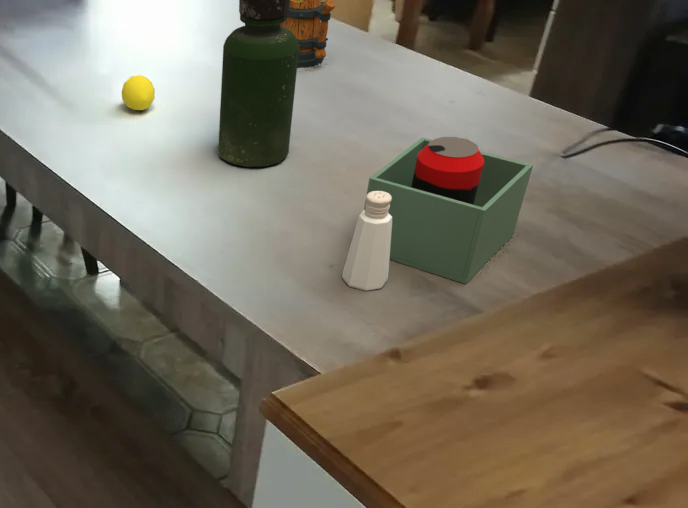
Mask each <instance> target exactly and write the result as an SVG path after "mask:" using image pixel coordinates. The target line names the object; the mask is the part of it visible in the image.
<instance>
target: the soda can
mask: <svg viewBox="0 0 688 508" xmlns="http://www.w3.org/2000/svg"><path fill="white" fill-rule="evenodd" d="M431 140H432V141H430V142H429V144H428V145H426V146H425V147H424V148H423V149H422V150H421V151H420V152H419V153H418V156H417V161H416V166H415V171H414V176H413V181H412V186H411V188H415V189H418V190H422V191H425V192H429V193H433V194H436V195H440V196H443V197H447V198H451V199H454V200H458V201H461V202H465V203H469V204H472V205H474V201H475V197H476V193H477V189H478V185H479V181H480V177H481V173H482V169H483V165H484V158H483V156H482V154H481V152H482V151H481V150H480V149H479V145H477V143H475V142H474V141H471V140H469V139H467V138H463V137H456V136H443V137H441V136H440V137H437V138H434V139H431Z"/></svg>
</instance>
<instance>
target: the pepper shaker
mask: <svg viewBox="0 0 688 508" xmlns="http://www.w3.org/2000/svg"><path fill="white" fill-rule="evenodd" d="M391 200H392V197H391V195H390V194H389V193H387V192H384V191H372V192H370V193H368V194H367V193H366V196H365V202H366V201H367V202H366V205H365V204H364V208H366V209H365V210H364V209H363V210H362V212H361V213H360V214H359V215H358V218H357V221H356V224H355V228H354V232H353V235H352V238H351V242H350V246H349V250H348V252H347V256H346V261H345V262H344V263H345V264H344V267H343V271H342V274H341V279H343V281H344V282H345V283H346V284H347V286H348V287H349V288H351V289H352V288H353V289H356V290H360V291H365V292H368V291H373V290H379V289H382V288H383V287H384V286H385V284H386V283H387V282H388V280H389V271H390V270H389V269H390V245H391V232H392V216H391V215H390V214H389V213H388V210H389V208H390V202H391Z"/></svg>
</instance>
